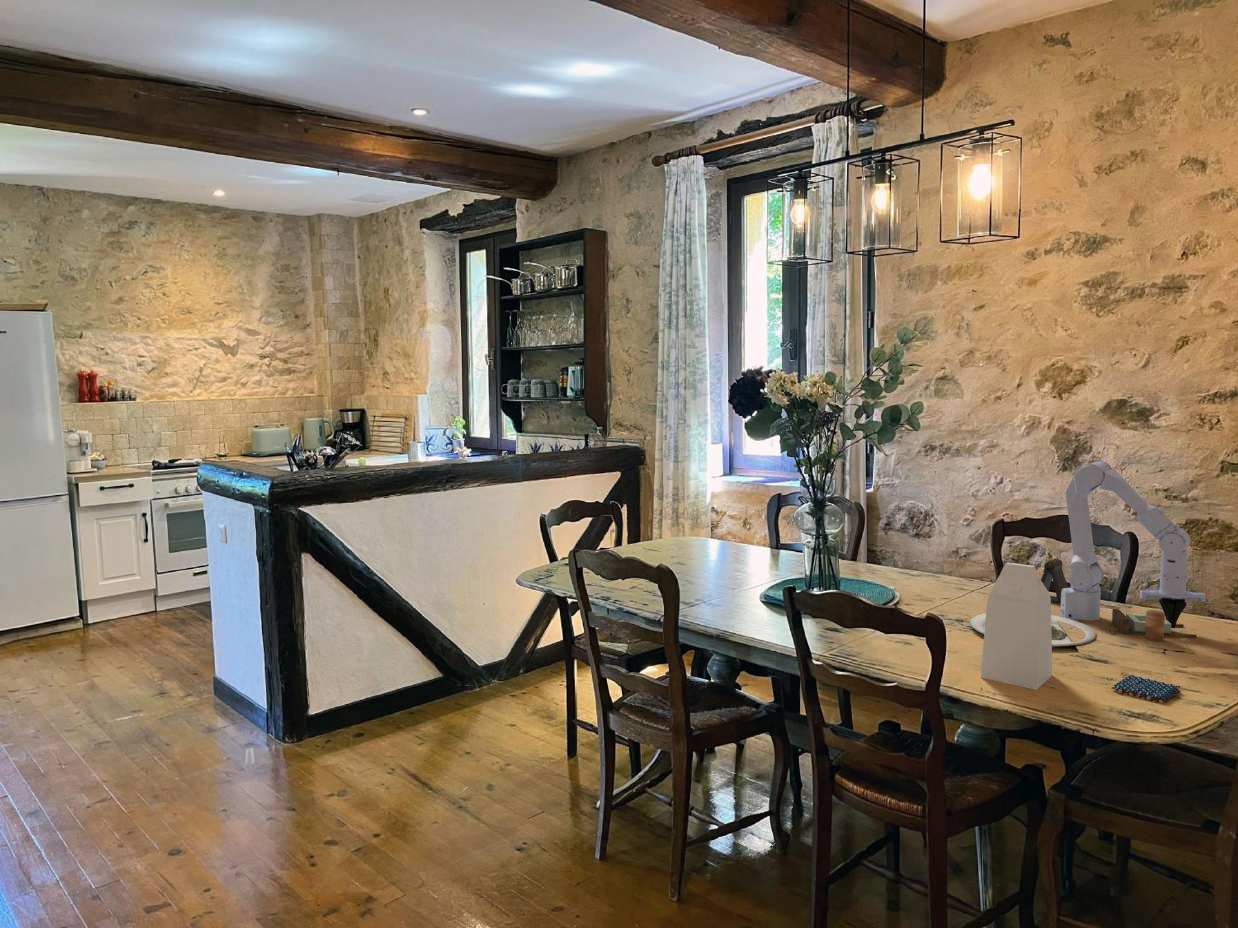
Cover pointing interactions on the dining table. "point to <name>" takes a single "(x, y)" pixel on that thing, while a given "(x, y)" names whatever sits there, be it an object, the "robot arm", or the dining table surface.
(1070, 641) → the plated food
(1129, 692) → the woven mat
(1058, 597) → the door stopper
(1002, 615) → the milk
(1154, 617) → the dowel
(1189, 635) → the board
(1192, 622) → the dining table surface
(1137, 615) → the socket block
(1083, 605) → the robot arm
